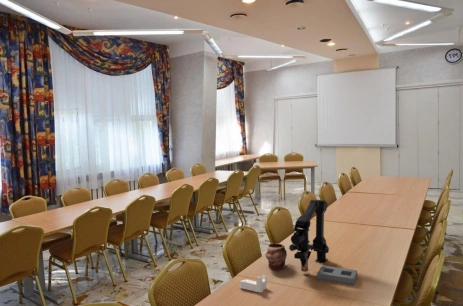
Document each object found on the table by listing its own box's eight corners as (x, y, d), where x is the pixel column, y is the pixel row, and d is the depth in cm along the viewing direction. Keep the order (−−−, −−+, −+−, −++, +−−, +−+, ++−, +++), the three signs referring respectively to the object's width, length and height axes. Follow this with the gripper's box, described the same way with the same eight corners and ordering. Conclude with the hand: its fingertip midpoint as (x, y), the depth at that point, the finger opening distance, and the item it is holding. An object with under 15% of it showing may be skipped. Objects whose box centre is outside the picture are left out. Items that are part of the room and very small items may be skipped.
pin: (302, 268, 212) (301, 252, 211) (309, 269, 210) (308, 253, 209) (300, 271, 208) (299, 254, 208) (307, 272, 207) (306, 255, 206)
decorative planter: (274, 259, 234) (273, 239, 233) (292, 262, 228) (291, 241, 227) (262, 270, 217) (261, 248, 216) (280, 274, 210) (279, 251, 209)
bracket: (266, 290, 193) (267, 276, 194) (260, 292, 187) (261, 277, 188) (245, 285, 200) (246, 272, 201) (239, 287, 194) (240, 273, 195)
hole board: (322, 271, 210) (322, 265, 210) (357, 277, 201) (357, 270, 200) (317, 279, 200) (316, 273, 200) (353, 285, 190) (353, 278, 190)
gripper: (295, 233, 220) (296, 258, 221) (285, 243, 204) (286, 269, 205) (313, 235, 215) (313, 260, 216) (303, 245, 198) (305, 272, 199)
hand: (304, 265), depth 209 cm, fingers closed on pin, 4 cm apart
